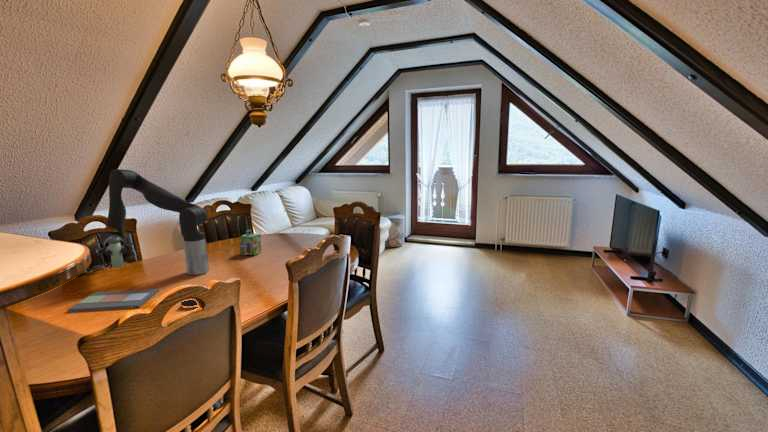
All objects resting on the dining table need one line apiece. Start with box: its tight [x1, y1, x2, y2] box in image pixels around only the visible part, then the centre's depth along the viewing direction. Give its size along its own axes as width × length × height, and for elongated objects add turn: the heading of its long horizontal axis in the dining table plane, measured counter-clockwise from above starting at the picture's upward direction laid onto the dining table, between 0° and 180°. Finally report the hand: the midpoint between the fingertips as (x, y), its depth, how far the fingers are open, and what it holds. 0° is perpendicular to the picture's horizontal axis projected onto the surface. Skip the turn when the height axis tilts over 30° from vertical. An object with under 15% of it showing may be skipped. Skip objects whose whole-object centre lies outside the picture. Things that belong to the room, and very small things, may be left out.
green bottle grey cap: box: [108, 237, 125, 269], centre depth 149 cm, size 4×4×13 cm
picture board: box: [67, 288, 160, 313], centre depth 135 cm, size 24×16×1 cm, turn 101°
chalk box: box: [238, 228, 262, 256], centre depth 201 cm, size 9×9×15 cm
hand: (116, 252), depth 147 cm, fingers closed on green bottle grey cap, 4 cm apart
